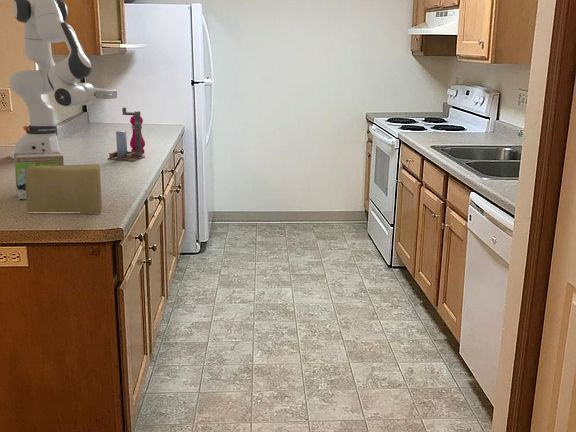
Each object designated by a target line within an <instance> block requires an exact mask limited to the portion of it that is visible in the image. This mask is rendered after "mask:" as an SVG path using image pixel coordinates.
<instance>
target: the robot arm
mask: <svg viewBox="0 0 576 432" xmlns="http://www.w3.org/2000/svg"><path fill="white" fill-rule="evenodd" d="M68 11H69V10H68V7H67V4H66V3H65V0H13V3H12V13H13V16H14V18H15V19H16V21H18V22H19V23H20V22H21V23H24V27H23V41H24V42H23V43H24V54H25V57H26V58H27V59H28V60H30V61H31V62H34V63H35V64H36V65H37V67H38V69H30V70H29V69H27V70H26V69H24V70H18V71H14V72H12V73H11V75H10V77H9V87H10V89H11V90H12V92H13V93H14V94H16V95H18V96H19V97H20V98H21V99H22V101H23V102H24V103H25V106H26V108H27V112H28V116H29V118H28V119H29V125H28V126H27V125H23V130H24V131H25V134H24V135H23V136H22V137H20V138H19V139H18V140H17V141H16V142H15V143H14V144H15V145H14V148H13V149H14V150H13V152H11V153H9V158H11V159H13V160H14V153H35V152H60V153H61V154H62V152H61V151H62V150H61V148H60V145H59V141H58V134H59V133H58V126H57V124H56V113H55V108H54V107H53V105H52V104H50V103H48V102H46V101H44V100H43V98H42V96H43V95H53V96H54V97H53V98H54V100H55V101H56V104H57V103H58V105H60V106H62V107H64V108H75V107H76V108H77V107H79V106H87V105H91V104H93V103H94V102H95V101H96V99H97V100H98V99H100V100H113V99H115V100H116V99H117V98H118V91H117V89H114V88H101V87H100V88H99V87H94V86H93V85H92V84H91V83H89V82H81V83H78V82H79V81H81V80H83V79H85V78H87V77H88V76H90V75H91V73H92V63H91V60H90V59H89V57H88V56H87V55H86V53H85V51H84V49H83V46H82V44H81V43H80V40H79V38H78V36H77V34H76V32H75V30H74V28H73V27H72V26H71V25H70V24H68V23H67V20H68V16H69V15H68V14H69V12H68ZM62 42H64V43H65V45H66V47H67V49H68V52H69V53H68V55H67V56H66V58H64V59H62V60H61V61H59V62H58V63H56V62H55V61H54V58H53V51H52V44H54V43H55V44H57V43H62Z"/></svg>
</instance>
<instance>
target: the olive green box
mask: <svg viewBox="0 0 576 432" xmlns="http://www.w3.org/2000/svg"><path fill="white" fill-rule="evenodd" d="M101 183H102V182H101V167H100V164H98V163H89V164H88V163H87V164H66V165H65V164H64V165H62V166H30V167H28V168H27V169H26V199H25V201H26V211H27V213H28V212H80V213H100V212H102V210H103V198H102V184H101ZM100 214H101V213H100Z"/></svg>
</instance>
